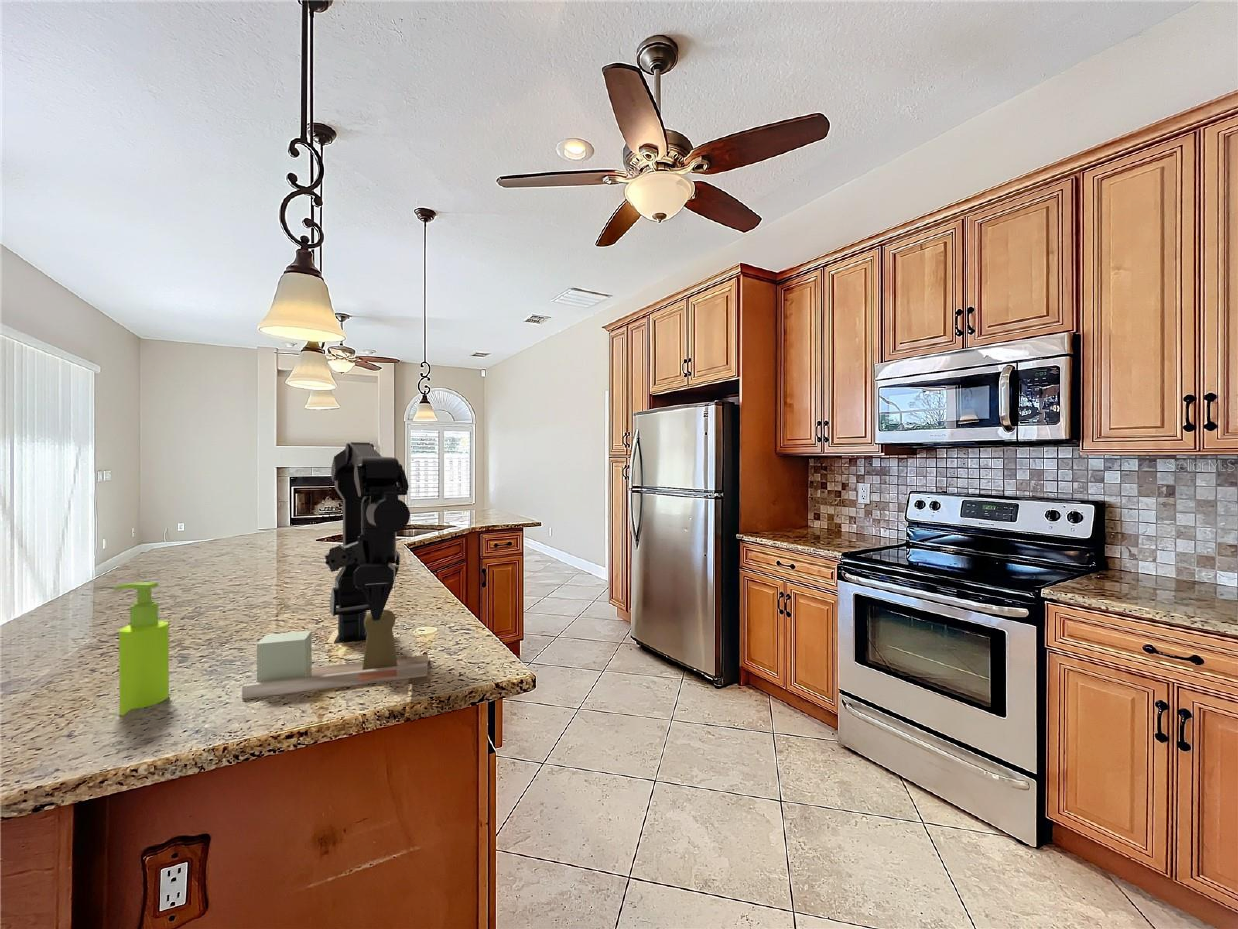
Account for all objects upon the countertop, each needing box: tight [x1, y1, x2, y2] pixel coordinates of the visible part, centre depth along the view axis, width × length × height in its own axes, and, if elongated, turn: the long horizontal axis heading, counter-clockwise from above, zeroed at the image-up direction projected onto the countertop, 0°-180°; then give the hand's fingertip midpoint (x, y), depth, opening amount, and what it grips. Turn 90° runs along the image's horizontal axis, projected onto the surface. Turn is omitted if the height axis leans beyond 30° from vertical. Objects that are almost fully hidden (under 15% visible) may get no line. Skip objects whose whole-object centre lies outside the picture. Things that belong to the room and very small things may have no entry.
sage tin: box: [256, 630, 313, 682], centre depth 91 cm, size 5×7×8 cm
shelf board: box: [241, 654, 429, 700], centre depth 95 cm, size 11×28×3 cm, turn 109°
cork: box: [362, 609, 398, 670], centre depth 96 cm, size 6×6×11 cm
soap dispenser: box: [112, 581, 170, 717], centre depth 85 cm, size 6×7×20 cm
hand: (378, 613), depth 96 cm, fingers open, 9 cm apart
